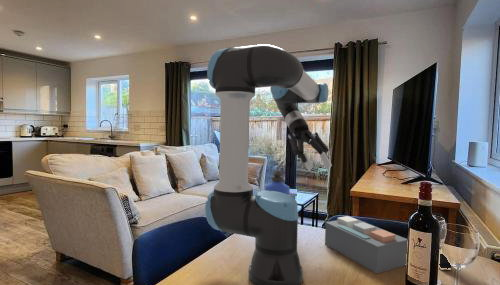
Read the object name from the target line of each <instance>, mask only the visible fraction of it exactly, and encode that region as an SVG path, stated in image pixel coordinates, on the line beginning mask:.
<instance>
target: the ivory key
mask: <svg viewBox="0 0 500 285" xmlns="http://www.w3.org/2000/svg"><path fill="white" fill-rule="evenodd" d="M336 218H337V219H336V220H337V223H340V224H342V225H344V226H346V227H349V228H351V229H353V224H357V223H358V220H359V219H358V220H357V218H355V217H352V216H349V215H345V216H341V217H336ZM354 218H355V219H354Z"/></svg>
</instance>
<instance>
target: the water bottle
mask: <svg viewBox="0 0 500 285" xmlns="http://www.w3.org/2000/svg"><path fill="white" fill-rule="evenodd" d="M283 181H284V176H283V173H282V172H281V171H280V170H275V171H274V172H273V173H272V176H271V182H270V183H268V184H266V185H265V186H264V191H277V192H281V193H285V194H287V195H290V188H291V187H290V186H289V185H288V184H285V183H284V182H283Z"/></svg>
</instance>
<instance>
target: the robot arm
mask: <svg viewBox="0 0 500 285" xmlns="http://www.w3.org/2000/svg"><path fill="white" fill-rule="evenodd" d="M206 70H207V71H206V74H207V79H208V80H209V81H208V83H209V85H210V87H211V88H213V90H215V95H216V97H217V98H218V99H220V100H219V101H220V102H219V103H220V105H219V106H220V107H219V111H220V112H219V113H220V114H219V116H220V117H219V118H220V119H219V164H218V165H219V166H218V167H219V169H218V170H219V171H218V174H219V175H218V176H219V178H218V182H217V183H216V184H215V185H214V187H213V191H211V192H210V193H209V194H208V196H207V200H206V201H205V207H204V210H205V212H204V213H205V217H206V221H207V222H208V224H209V225H210V227H211V228H212V229H213V230H217V231H221V232H223V233H230V234H235V235H240V236H246V237H251V238H255V240H254V243H255V244H254V245H255V246H254V251H253V254H252V258H251V261H250V264H249V266H248V279H249V281H251V282H250V283H252V284H254V285H301V284H302V282H303V277H304V275H303V274H304V270H303V267H302V265H301V261H300V258H299V254H298V224H299V221H298V220H299V212H298V210H299V208H298V202H297V200H296V199H295V198H294V197H293V196H292V195H290V194H289V195H287V194H285V193H281V192H277V191H265V190H260V191H257V193H256V195H255V194H254V186H253V185H252V184H250V182H249V156H250V152H249V151H250V148H249V147H250V115H251V114H250V110H251V108H250V106H251V105H250V103H251V102H250V101H251V100H252V99H253V98H254V97H255V96H256V89H257V88H259V89H260V88H268V87H270V89H269V90H270V93H271V96H272V99H273V100H274V102H275V103H276V107H277V109H278V111H279V112H280V114H281V116H282V117H283V120H284V122H285V123H286V126H287V127H288V130H289V134H288V135H287V140H289V144H290V146H291V150H292V152H293V153H292V154H293V156H297V158H298V159H300V160H301V162H302V163H303V164H304V166H305V167H306V169H307V171H308V172H311V170H312V169H313V168H314V165H313V163H312V161H311V159H310V158H309V156H308V154H307V152H305V149H304V145H305V144H304V143H306V144H308V146H311V148H313V149H314V150H315V151H316V152H317V153H318V154H319V155H320V156H319V158H320V159H321V161H322V164H323V165H324V167H325V168H326V170H328V171H329V170H330V169H331V167H332V166H333V164H332V162H331V161H330V157H329V156H328V154H327V153H328V152H329V151H330V149H329V148H328V146H327V145H326V144H325V142H324V141H323V140H322V138H321V137H320V135H319V133H318V132H315V133H313V132H311V131H310V128H309V125H308V123H307V121H306V120H305V118H304V116H303V114H302V113H301V111H300V109H299V107H298V105H297V104H322V103H326V102H327V101H328V99H329V85H328V83H323V82H318V83H317V82H316V81H315V80H314V78H312V77H311V76H310V75H309V74H308V73H307V72H306V71H305V70H304V67H303V64H302V62H301V60H299V58H298V57H296V56H295V55H294V54H293V53H291V52H290V51H287V50H285V49H284V48H280V47H278V46H275V45H271V44H264V43H263V44H262V43H261V44H257V45H256V44H255V45H254V44H253V45H245V46H244V45H243V46H233V47H231V46H230V47H226V48H222V49H217V50H216V51H215V52H213V54H212V55H211V57H210V58H209V61H208V64H207V68H206Z"/></svg>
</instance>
